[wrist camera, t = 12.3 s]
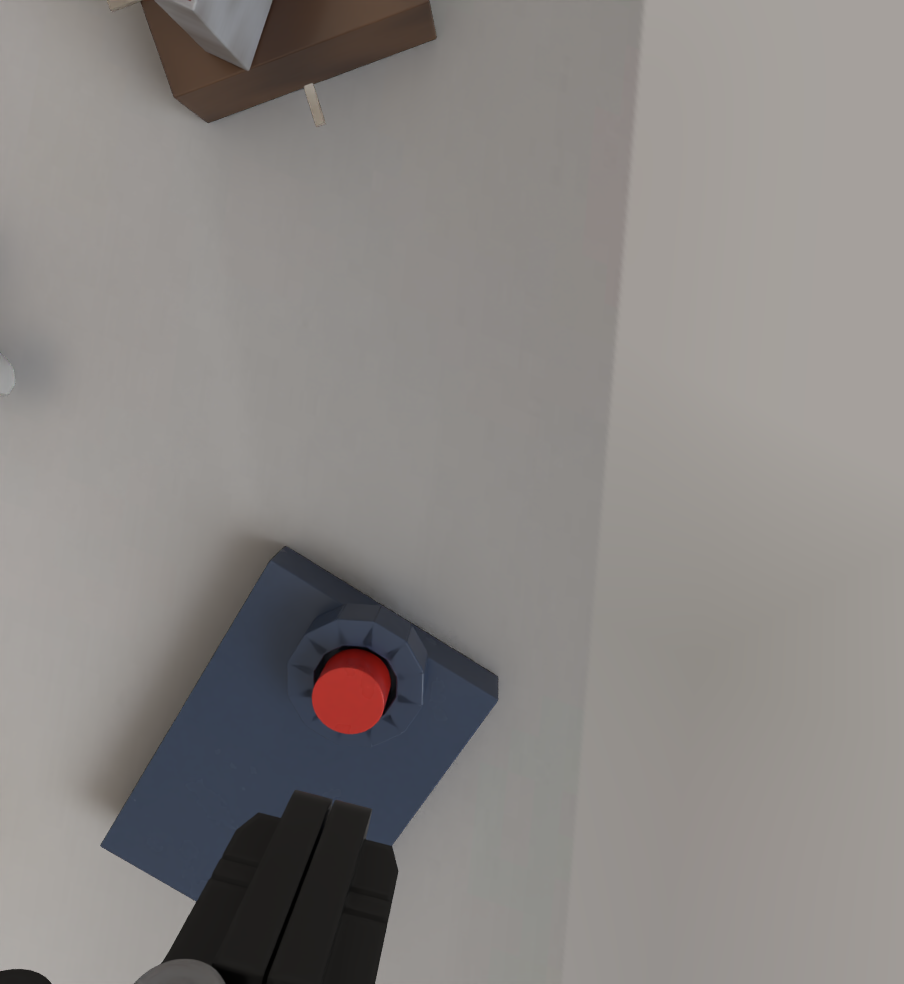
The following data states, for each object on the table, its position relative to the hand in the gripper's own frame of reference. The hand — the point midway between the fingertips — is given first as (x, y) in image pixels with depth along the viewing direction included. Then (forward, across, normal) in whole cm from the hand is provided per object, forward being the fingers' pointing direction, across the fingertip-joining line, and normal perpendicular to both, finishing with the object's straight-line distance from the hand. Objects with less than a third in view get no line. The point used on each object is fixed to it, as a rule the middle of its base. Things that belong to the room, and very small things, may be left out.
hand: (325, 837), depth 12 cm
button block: (+19, +4, +13) cm, 23 cm away
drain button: (+15, +2, +6) cm, 17 cm away
